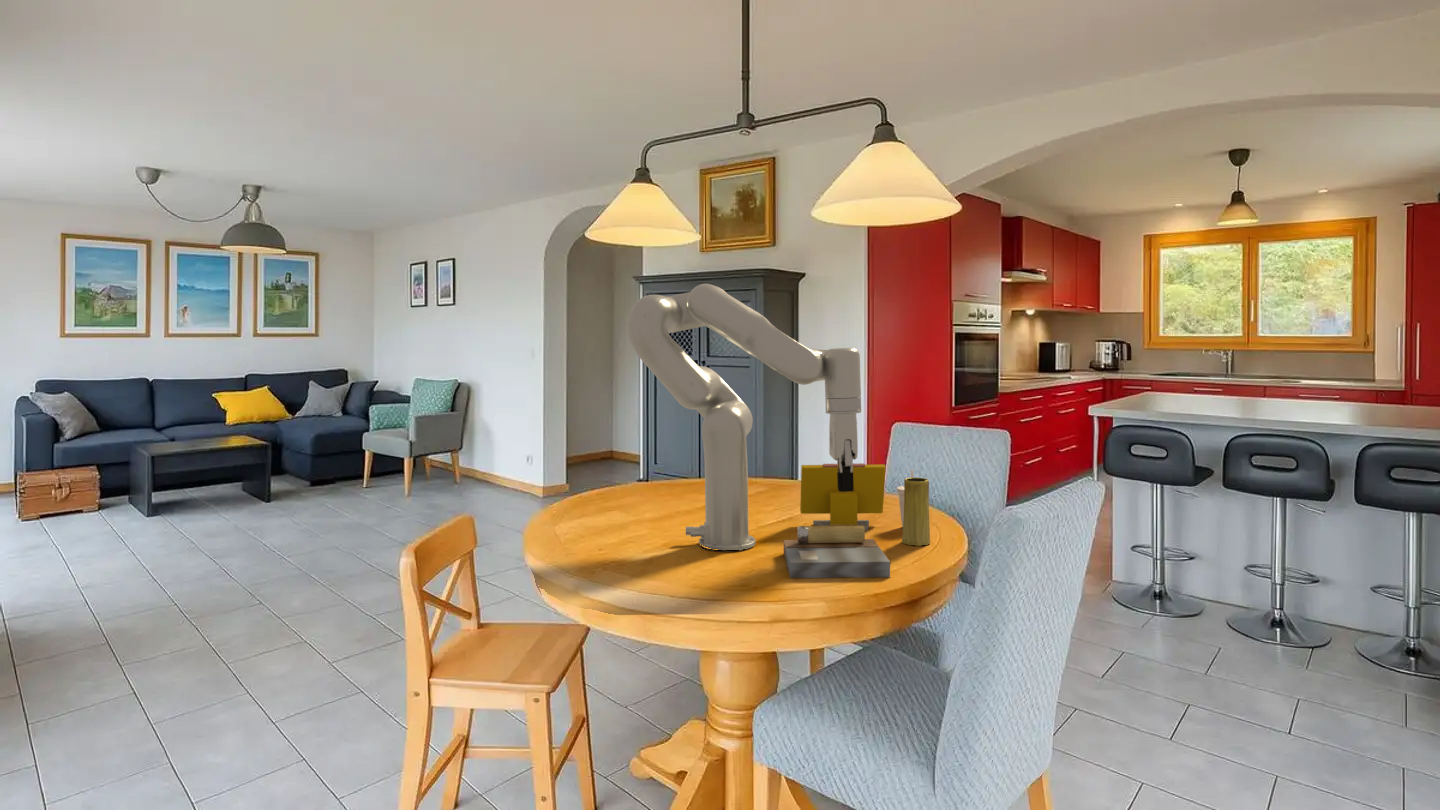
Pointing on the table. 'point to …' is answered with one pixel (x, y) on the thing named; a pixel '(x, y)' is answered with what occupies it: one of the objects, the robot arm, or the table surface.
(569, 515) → the table surface
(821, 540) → the latch bar
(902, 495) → the smoothie
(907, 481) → the vase
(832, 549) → the door mockup
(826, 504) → the toy computer monitor
